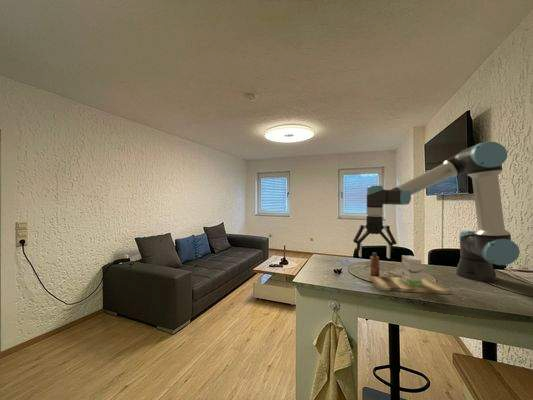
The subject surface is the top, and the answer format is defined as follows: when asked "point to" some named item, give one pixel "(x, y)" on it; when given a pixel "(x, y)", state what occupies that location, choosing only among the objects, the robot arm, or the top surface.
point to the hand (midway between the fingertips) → (374, 257)
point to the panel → (400, 285)
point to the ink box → (411, 271)
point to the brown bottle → (374, 265)
